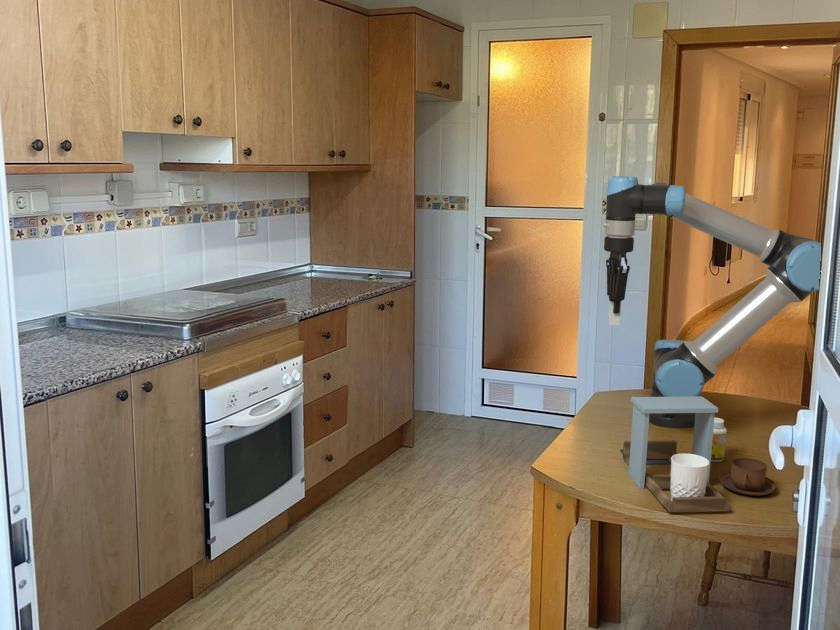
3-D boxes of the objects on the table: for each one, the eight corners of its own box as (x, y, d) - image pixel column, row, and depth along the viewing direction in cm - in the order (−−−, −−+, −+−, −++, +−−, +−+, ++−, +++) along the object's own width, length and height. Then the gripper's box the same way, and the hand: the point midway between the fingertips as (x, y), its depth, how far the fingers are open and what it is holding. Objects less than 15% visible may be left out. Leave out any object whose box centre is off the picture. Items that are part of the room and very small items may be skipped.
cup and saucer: (781, 502, 184) (784, 476, 183) (724, 498, 186) (726, 471, 184) (768, 481, 195) (770, 456, 194) (714, 477, 197) (716, 452, 196)
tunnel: (625, 474, 198) (631, 397, 194) (695, 473, 199) (702, 396, 195) (638, 489, 189) (644, 409, 185) (711, 488, 190) (718, 408, 187)
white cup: (705, 498, 185) (709, 456, 183) (705, 513, 177) (709, 468, 175) (668, 493, 187) (671, 451, 185) (666, 507, 180) (670, 463, 178)
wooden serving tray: (622, 457, 207) (623, 441, 206) (673, 456, 208) (675, 440, 207) (669, 512, 176) (670, 493, 175) (728, 510, 177) (730, 491, 176)
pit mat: (619, 450, 213) (620, 449, 213) (658, 449, 214) (658, 448, 214) (632, 465, 204) (632, 464, 203) (672, 464, 204) (672, 463, 204)
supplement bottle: (695, 456, 210) (699, 417, 208) (712, 453, 212) (716, 415, 210) (711, 464, 205) (715, 424, 203) (728, 461, 207) (732, 421, 205)
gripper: (598, 233, 224) (593, 319, 229) (612, 238, 212) (607, 329, 216) (625, 233, 225) (620, 319, 230) (641, 239, 212) (635, 329, 217)
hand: (613, 324), depth 223 cm, fingers closed
